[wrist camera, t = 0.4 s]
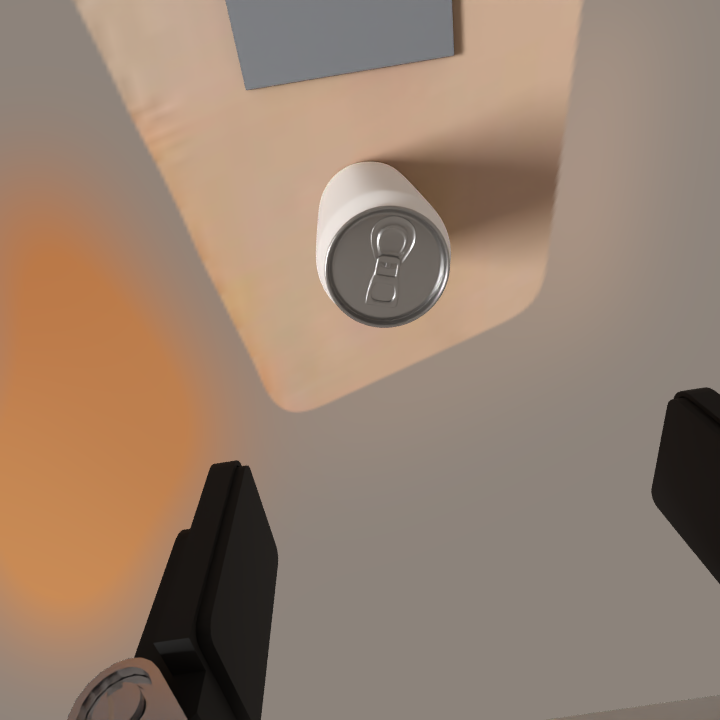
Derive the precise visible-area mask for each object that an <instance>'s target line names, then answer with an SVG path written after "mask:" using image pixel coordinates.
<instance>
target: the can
mask: <svg viewBox="0 0 720 720" xmlns="http://www.w3.org/2000/svg"><path fill="white" fill-rule="evenodd" d="M450 260H451V246H450V240H449V236H448V233H447V230H446V227H445V225H444V223H443V221H442V219H441V218H440V216H439V215H438V213H437V212H436V211H435V209H434V208H433V207H432V206H431V205H430V204H429V202H428V201H427V200H426V199H425V198H424V197H423V196H422V195H421V194H420V193H419V191H418V190H417V189H416V188H415V187H414V186H413V185H412V184H411V183H410V182H409V181H408V180H407V179H406V178H405V177H404V176H403V175H402V174H401V173H400V172H399V171H397V170H396V169H395V168H393V167H391V166H389V165H387V164H384V163H380V162H359V163H355V164H352V165H349V166H347V167H345V168H344V169H342V170H341V171H339V172H338V173H337V174H336V175H335V176H334V177H333V178H332V179H331V180H330V181H329V183H328V184H327V186H326V188H325V190H324V192H323V194H322V197H321V201H320V205H319V214H318V226H317V241H316V264H317V270H318V274H319V278H320V281H321V283H322V286H323V288H324V289H325V291H326V293H327V294H328V296H329V297H330V298H331V299H332V301H333V302H334V303H335V304H336V305H337V306H338V307H339V308H340V309H341V310H342V311H343V312H344V313H345V314H346V315H347V316H349V317H350V318H352V319H353V320H355V321H357V322H359V323H362V324H365V325H368V326H372V327H380V328H389V327H396V326H401V325H404V324H407V323H410V322H412V321H414V320H416V319H418V318H419V317H421V316H422V315H424V314H425V313H426V312H428V311H429V310H430V309H431V308H432V307H433V306H434V305H435V303H436V302H437V301H438V299H439V298H440V296H441V295H442V293H443V291H444V289H445V287H446V284H447V281H448V277H449V271H450Z"/></svg>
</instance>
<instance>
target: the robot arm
mask: <svg viewBox="0 0 720 720" xmlns="http://www.w3.org/2000/svg"><path fill="white" fill-rule="evenodd" d="M651 492H652V497H653V500H654V503H655V505H656V506H657V507H658V508H659V510H660V511H661V512H662V514H663V515H664V516H665V517H666V518H667V520H668V521H669V522H670V523H671V525H672V526H673V527H674V528H675V530H676V531H677V532H678V533H679V534H680V536H681V537H682V538H683V539H684V541H685V542H686V543H687V544H688V546H689V547H690V548H691V549H692V550H693V552H694V553H695V554H696V555H697V556H698V558H699V559H700V560H701V561H702V563H703V564H704V565H705V566H706V568H707V569H708V570H709V571H710V573H711V574H712V575H713V576H714V577H715V579H716V580H717V581H718V582H719V584H720V394H718V393H717V392H716V391H714V390H712V389H710V388H699V389H692V390H686V391H680V392H678V393H677V394H676V395H675V396H674V399H672V400H670V401H669V402H668V405H667V410H666V416H665V421H664V426H663V431H662V436H661V442H660V447H659V453H658V458H657V463H656V469H655V474H654V479H653V484H652V491H651ZM277 568H278V553H277V548H276V544H275V541H274V538H273V535H272V532H271V529H270V526H269V523H268V520H267V517H266V514H265V511H264V509H263V506H262V502H261V500H260V496H259V493H258V490H257V487H256V485H255V482H254V479H253V476H252V473H251V470H250V468H249V466H241V463H240V462H239V461H230V462H224V463H217V464H213V465H212V466H211V468H210V470H209V473H208V476H207V479H206V482H205V485H204V488H203V491H202V495H201V498H200V501H199V504H198V507H197V510H196V513H195V516H194V519H193V522H192V525H191V528H190V529H186V530H182V531H181V532H180V533H179V534H178V536H177V538H176V540H175V543H174V546H173V549H172V551H171V554H170V557H169V560H168V563H167V566H166V569H165V572H164V574H163V577H162V580H161V583H160V586H159V588H158V591H157V594H156V597H155V600H154V603H153V605H152V609H151V611H150V614H149V617H148V620H147V623H146V625H145V629H144V631H143V634H142V637H141V640H140V643H139V645H138V648H137V651H136V654H135V657H134V658H128V659H125V660H122V661H120V662H117V663H114V664H113V665H111V666H110V667H108V668H106V669H105V670H103V671H102V672H100V673H99V674H98V675H97V676H96V677H95V678H94V679H93V680H92V681H91V682H90V683H88V684H87V686H86V687H85V688H84V690H83V691H82V692H81V693H80V695H79V696H78V697H77V699H76V700H75V703H74V705H73V707H72V709H71V711H70V713H69V715H68V719H67V720H261V713H262V703H263V695H264V686H265V677H266V668H267V658H268V649H269V640H270V631H271V622H272V613H273V604H274V594H275V586H276V577H277ZM548 720H720V695H717V696H710V697H702V698H695V699H688V700H681V701H674V702H666V703H659V704H653V705H645V706H638V707H632V708H625V709H618V710H610V711H604V712H597V713H589V714H583V715H576V716H569V717H562V718H555V719H548Z"/></svg>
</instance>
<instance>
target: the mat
mask: <svg viewBox="0 0 720 720" xmlns="http://www.w3.org/2000/svg"><path fill="white" fill-rule="evenodd" d="M225 1H226V5H227V9H228V14H229V18H230V22H231V27H232V31H233V36H234V40H235V44H236V49H237V53H238V57H239V62H240V66H241V71H242V75H243V79H244V84H245V88H246V90H251V89H257V88H263V87H269V86H275V85H281V84H287V83H293V82H299V81H305V80H311V79H317V78H323V77H329V76H335V75H341V74H347V73H353V72H359V71H365V70H371V69H377V68H383V67H389V66H395V65H401V64H407V63H413V62H419V61H425V60H431V59H437V58H443V57H449V56H453V55H454V42H453V17H452V0H225Z"/></svg>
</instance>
